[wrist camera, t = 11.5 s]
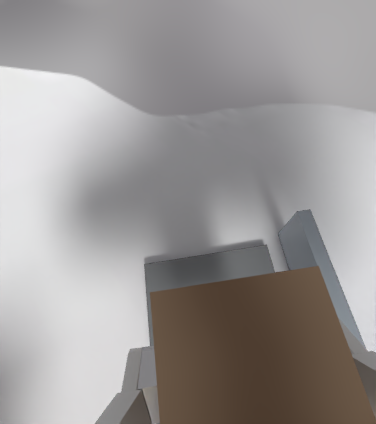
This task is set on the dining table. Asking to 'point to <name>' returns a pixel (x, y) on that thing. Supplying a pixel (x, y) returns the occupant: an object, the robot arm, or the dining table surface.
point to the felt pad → (205, 271)
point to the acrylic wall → (315, 261)
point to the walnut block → (255, 353)
